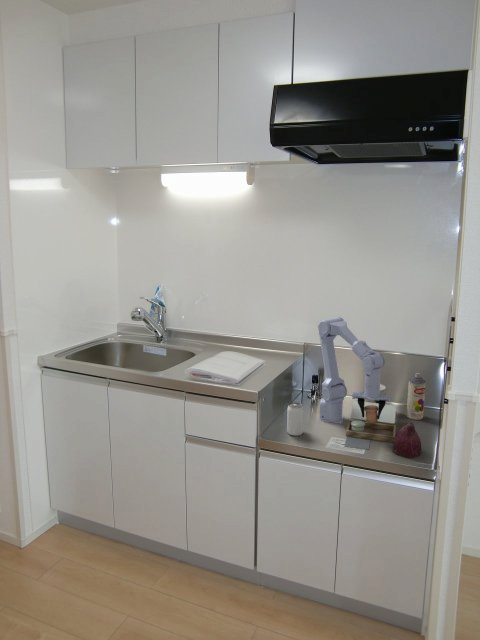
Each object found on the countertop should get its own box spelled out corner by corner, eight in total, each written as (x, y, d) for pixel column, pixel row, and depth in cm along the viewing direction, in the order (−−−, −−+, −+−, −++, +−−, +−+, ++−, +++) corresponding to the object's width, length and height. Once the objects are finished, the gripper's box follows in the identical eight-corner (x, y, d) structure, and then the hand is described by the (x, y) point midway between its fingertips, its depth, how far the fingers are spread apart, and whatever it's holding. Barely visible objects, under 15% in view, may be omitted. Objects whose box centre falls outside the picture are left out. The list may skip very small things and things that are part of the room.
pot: (364, 423, 193) (363, 410, 192) (365, 417, 198) (365, 404, 196) (378, 424, 191) (377, 410, 190) (379, 418, 196) (378, 405, 195)
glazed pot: (350, 434, 198) (350, 425, 197) (351, 429, 203) (351, 419, 202) (363, 436, 196) (364, 427, 195) (365, 430, 201) (365, 421, 200)
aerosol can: (412, 421, 210) (415, 377, 205) (403, 415, 216) (405, 371, 212) (426, 419, 212) (429, 375, 207) (416, 413, 218) (419, 370, 214)
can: (294, 427, 206) (294, 400, 203) (306, 432, 202) (306, 404, 199) (283, 432, 202) (284, 405, 199) (296, 437, 197) (296, 409, 194)
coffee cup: (374, 418, 214) (375, 392, 211) (358, 410, 222) (359, 385, 219) (389, 413, 219) (391, 387, 216) (374, 406, 227) (375, 381, 224)
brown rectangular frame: (345, 437, 197) (346, 424, 196) (351, 417, 215) (351, 405, 214) (394, 443, 191) (395, 430, 190) (396, 422, 209) (396, 410, 208)
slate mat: (344, 447, 189) (344, 446, 189) (346, 438, 196) (346, 436, 196) (368, 450, 186) (368, 449, 186) (370, 441, 193) (370, 440, 193)
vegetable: (421, 467, 180) (431, 436, 173) (392, 461, 182) (401, 430, 174) (418, 447, 189) (428, 416, 182) (390, 442, 191) (399, 411, 184)
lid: (353, 400, 215) (353, 401, 215) (350, 418, 207) (350, 418, 207) (396, 405, 210) (395, 406, 210) (394, 423, 202) (394, 424, 202)
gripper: (352, 386, 189) (350, 419, 192) (391, 389, 185) (389, 423, 188) (353, 379, 196) (352, 412, 199) (392, 383, 192) (390, 416, 195)
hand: (370, 417), depth 194 cm, fingers closed on pot, 5 cm apart
